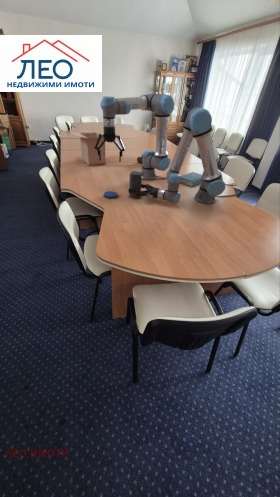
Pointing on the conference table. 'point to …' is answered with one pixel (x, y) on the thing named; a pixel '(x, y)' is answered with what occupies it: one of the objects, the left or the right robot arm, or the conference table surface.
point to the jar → (135, 183)
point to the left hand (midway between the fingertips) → (110, 160)
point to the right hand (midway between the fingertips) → (132, 187)
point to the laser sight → (139, 159)
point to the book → (191, 179)
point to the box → (91, 147)
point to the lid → (110, 194)
